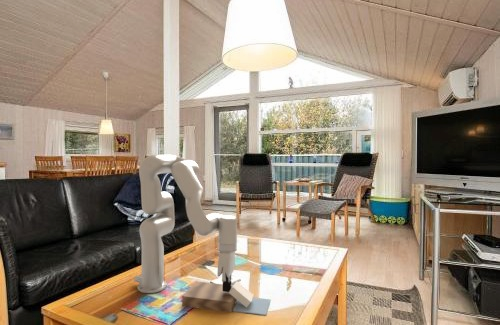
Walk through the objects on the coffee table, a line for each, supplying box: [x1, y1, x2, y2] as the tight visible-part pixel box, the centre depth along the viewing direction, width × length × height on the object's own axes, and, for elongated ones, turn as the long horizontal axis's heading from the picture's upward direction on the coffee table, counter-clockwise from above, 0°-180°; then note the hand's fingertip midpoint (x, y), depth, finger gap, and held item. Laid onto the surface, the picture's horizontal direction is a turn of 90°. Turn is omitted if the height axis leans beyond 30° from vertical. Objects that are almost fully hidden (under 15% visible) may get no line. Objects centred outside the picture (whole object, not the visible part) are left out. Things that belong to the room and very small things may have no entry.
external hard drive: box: [209, 274, 242, 286], centre depth 141 cm, size 2×8×12 cm
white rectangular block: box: [229, 281, 255, 308], centre depth 120 cm, size 9×6×3 cm
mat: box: [232, 296, 271, 317], centre depth 119 cm, size 13×12×1 cm
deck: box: [181, 281, 238, 313], centre depth 123 cm, size 20×14×4 cm
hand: (226, 290), depth 121 cm, fingers closed
